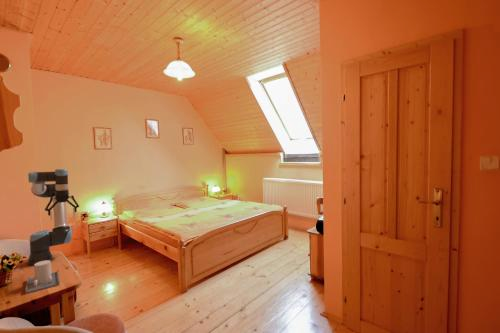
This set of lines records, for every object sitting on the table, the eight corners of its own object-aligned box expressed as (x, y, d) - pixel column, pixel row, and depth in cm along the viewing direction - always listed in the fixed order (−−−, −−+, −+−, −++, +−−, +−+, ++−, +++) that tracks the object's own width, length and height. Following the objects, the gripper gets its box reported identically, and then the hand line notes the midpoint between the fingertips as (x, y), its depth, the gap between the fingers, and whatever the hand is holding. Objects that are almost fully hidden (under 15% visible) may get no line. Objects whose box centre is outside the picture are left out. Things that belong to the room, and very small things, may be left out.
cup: (53, 279, 162) (53, 261, 161) (39, 285, 154) (38, 266, 154) (47, 277, 165) (46, 259, 165) (32, 282, 158) (31, 264, 157)
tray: (27, 280, 163) (27, 272, 163) (58, 272, 173) (57, 265, 173) (25, 294, 146) (25, 285, 146) (59, 284, 156) (59, 277, 156)
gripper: (39, 191, 170) (40, 222, 171) (82, 188, 186) (83, 216, 187) (39, 190, 176) (40, 220, 176) (81, 188, 192) (82, 214, 192)
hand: (62, 218), depth 181 cm, fingers open, 13 cm apart
